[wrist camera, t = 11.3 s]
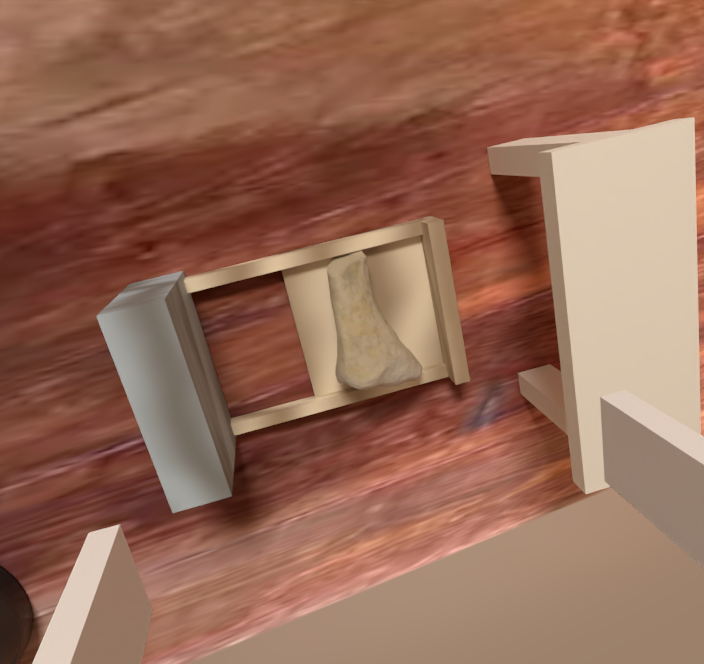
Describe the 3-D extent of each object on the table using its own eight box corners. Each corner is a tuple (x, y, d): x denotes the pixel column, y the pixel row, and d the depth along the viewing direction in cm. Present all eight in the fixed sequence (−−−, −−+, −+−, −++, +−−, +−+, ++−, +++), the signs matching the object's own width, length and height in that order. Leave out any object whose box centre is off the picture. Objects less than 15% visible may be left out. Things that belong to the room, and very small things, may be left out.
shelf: (493, 401, 49) (585, 494, 35) (455, 155, 42) (551, 152, 29) (578, 377, 50) (701, 459, 36) (554, 131, 43) (694, 117, 29)
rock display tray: (188, 447, 46) (172, 513, 37) (129, 284, 41) (96, 316, 33) (458, 373, 48) (502, 419, 39) (429, 209, 43) (472, 221, 35)
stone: (419, 365, 46) (436, 388, 42) (352, 401, 46) (362, 428, 42) (358, 245, 43) (369, 256, 38) (285, 285, 43) (288, 300, 38)
